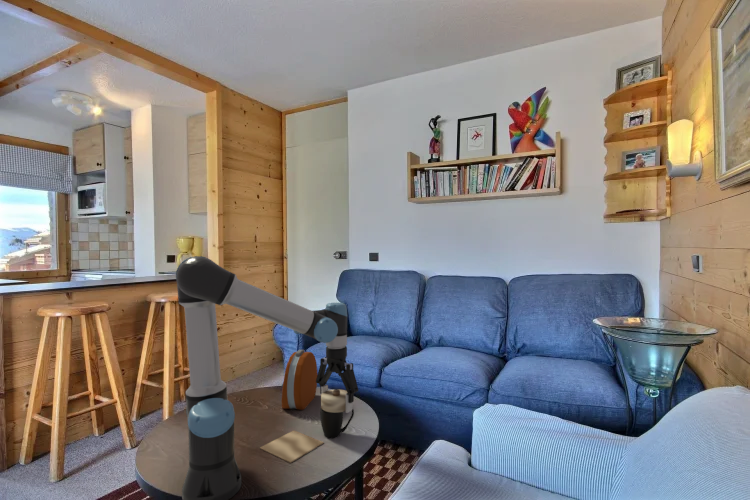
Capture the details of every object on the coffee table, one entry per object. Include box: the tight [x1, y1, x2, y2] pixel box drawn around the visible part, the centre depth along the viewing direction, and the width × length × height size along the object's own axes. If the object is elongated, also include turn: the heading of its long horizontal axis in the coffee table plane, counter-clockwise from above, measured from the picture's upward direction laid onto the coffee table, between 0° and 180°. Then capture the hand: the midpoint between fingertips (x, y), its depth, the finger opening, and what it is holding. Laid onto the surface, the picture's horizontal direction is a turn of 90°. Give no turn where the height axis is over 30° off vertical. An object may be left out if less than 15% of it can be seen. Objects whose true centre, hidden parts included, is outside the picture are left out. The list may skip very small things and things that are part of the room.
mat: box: [259, 429, 325, 464], centre depth 130 cm, size 15×15×1 cm
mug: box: [319, 407, 355, 439], centre depth 138 cm, size 8×12×10 cm
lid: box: [320, 389, 347, 413], centre depth 138 cm, size 11×11×6 cm
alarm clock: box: [281, 349, 318, 411], centre depth 167 cm, size 22×10×23 cm, turn 170°
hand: (336, 407), depth 138 cm, fingers closed on lid, 11 cm apart
